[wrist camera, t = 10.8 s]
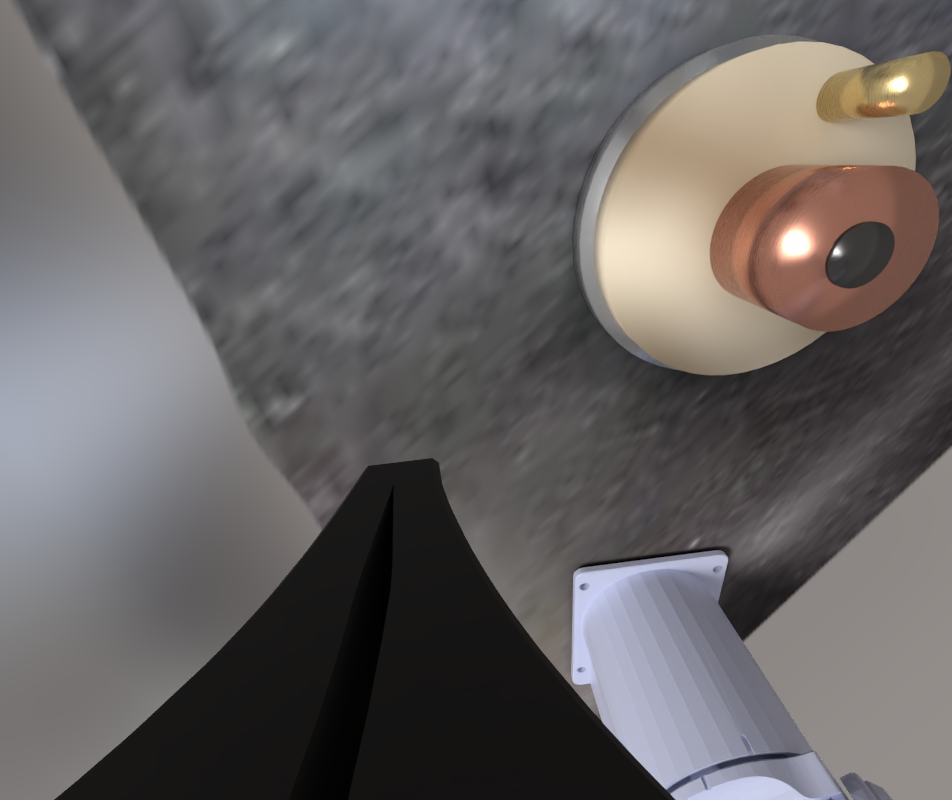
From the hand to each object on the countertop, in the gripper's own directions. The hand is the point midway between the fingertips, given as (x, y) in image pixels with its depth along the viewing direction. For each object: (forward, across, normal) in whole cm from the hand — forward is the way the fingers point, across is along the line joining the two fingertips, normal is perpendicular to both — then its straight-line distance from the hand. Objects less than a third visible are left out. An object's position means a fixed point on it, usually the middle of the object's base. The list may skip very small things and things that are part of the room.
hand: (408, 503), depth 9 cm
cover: (+7, -12, -3) cm, 14 cm away
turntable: (+8, -11, -3) cm, 14 cm away
